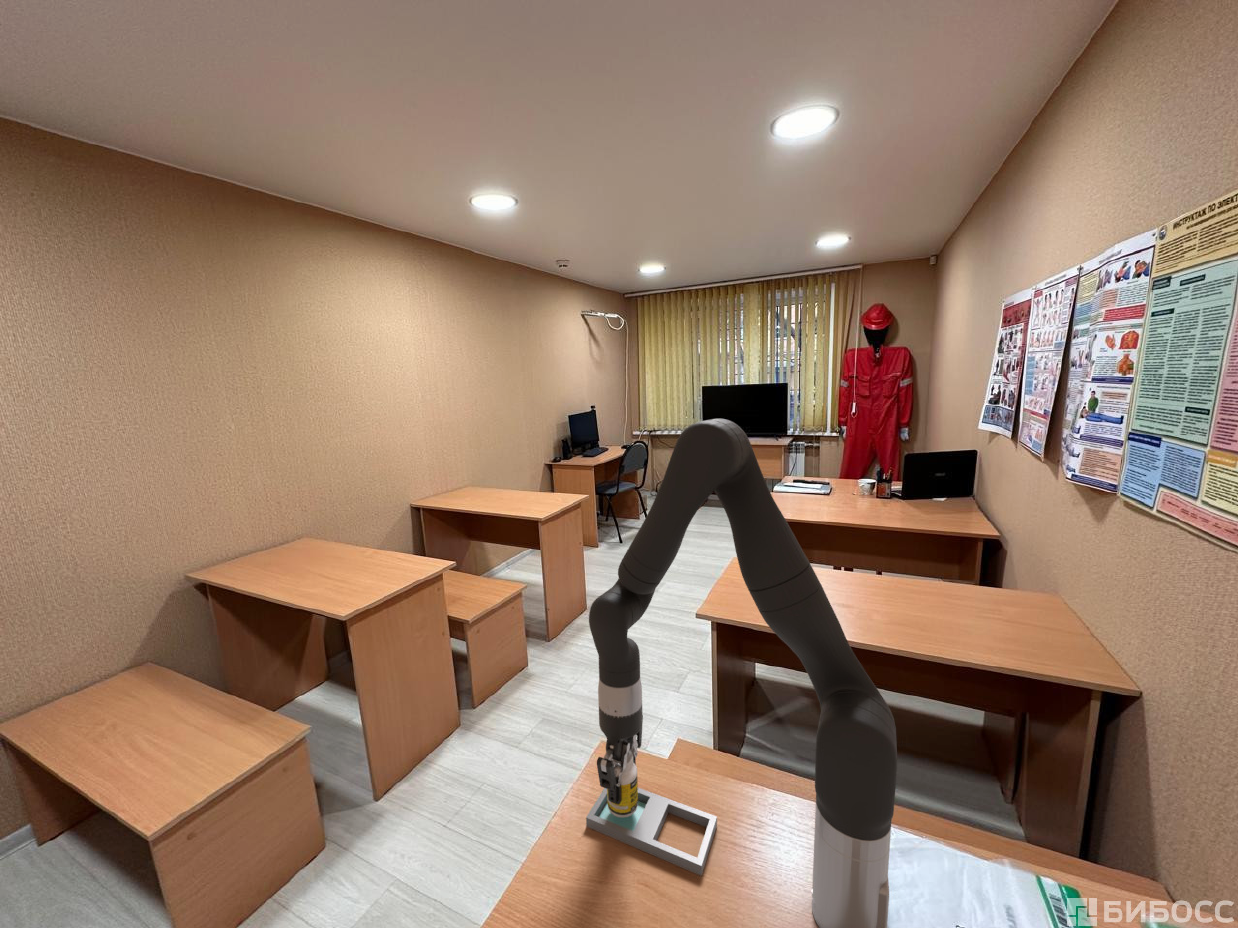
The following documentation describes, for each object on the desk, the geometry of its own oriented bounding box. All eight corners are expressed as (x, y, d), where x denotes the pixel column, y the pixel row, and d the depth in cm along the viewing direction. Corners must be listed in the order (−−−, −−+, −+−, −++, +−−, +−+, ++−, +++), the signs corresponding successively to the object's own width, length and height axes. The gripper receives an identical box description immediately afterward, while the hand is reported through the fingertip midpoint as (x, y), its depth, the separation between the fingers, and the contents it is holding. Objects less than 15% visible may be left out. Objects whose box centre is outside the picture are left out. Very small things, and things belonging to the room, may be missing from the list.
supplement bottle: (635, 821, 81) (634, 769, 79) (604, 816, 82) (602, 765, 80) (640, 795, 86) (639, 746, 85) (611, 790, 87) (609, 742, 86)
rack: (716, 825, 82) (717, 816, 81) (701, 875, 73) (701, 865, 73) (611, 785, 90) (610, 777, 90) (586, 826, 82) (586, 817, 82)
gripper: (622, 733, 73) (624, 829, 75) (655, 682, 86) (657, 766, 88) (580, 720, 76) (583, 812, 79) (618, 672, 89) (621, 753, 91)
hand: (622, 787), depth 83 cm, fingers closed on supplement bottle, 5 cm apart
